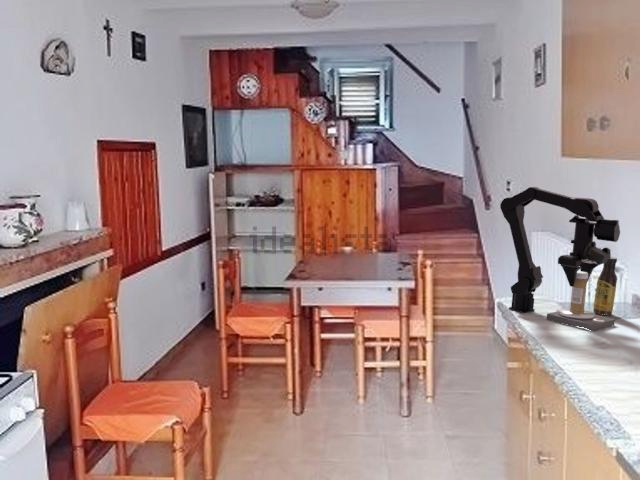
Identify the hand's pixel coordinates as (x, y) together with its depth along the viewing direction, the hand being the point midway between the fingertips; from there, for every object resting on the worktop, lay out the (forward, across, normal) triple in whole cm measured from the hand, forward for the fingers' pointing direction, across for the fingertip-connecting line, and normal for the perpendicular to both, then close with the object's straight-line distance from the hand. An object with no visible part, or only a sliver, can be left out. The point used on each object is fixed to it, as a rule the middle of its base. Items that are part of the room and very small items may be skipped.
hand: (578, 285), depth 228 cm
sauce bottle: (+12, +19, 0) cm, 23 cm away
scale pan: (+10, 0, 0) cm, 10 cm away
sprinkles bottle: (+9, 0, 0) cm, 9 cm away
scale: (+12, 0, -2) cm, 12 cm away
